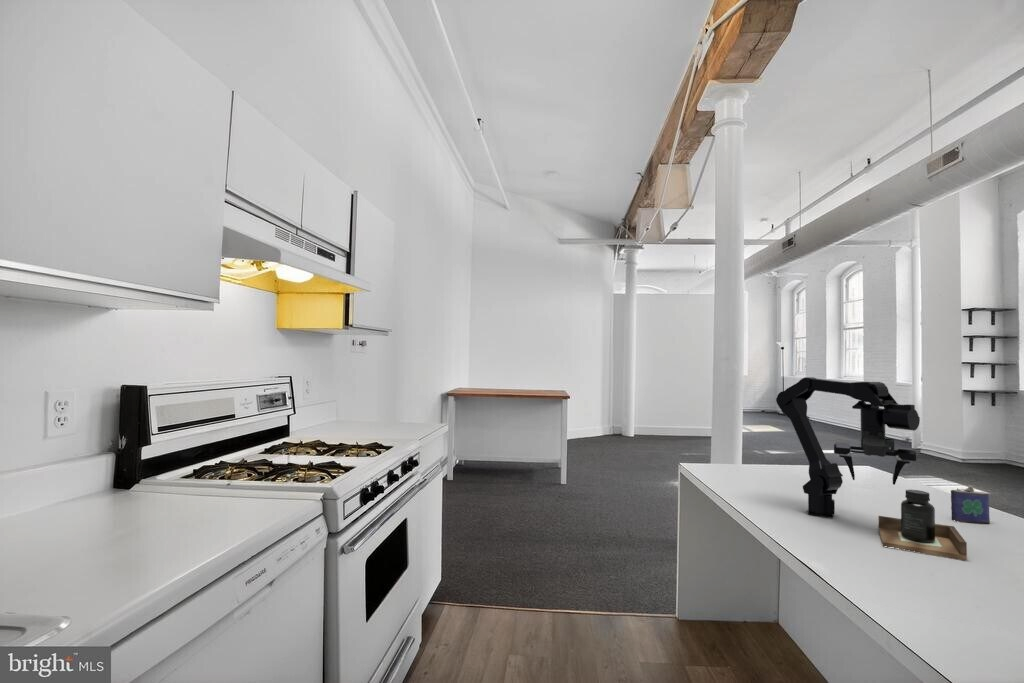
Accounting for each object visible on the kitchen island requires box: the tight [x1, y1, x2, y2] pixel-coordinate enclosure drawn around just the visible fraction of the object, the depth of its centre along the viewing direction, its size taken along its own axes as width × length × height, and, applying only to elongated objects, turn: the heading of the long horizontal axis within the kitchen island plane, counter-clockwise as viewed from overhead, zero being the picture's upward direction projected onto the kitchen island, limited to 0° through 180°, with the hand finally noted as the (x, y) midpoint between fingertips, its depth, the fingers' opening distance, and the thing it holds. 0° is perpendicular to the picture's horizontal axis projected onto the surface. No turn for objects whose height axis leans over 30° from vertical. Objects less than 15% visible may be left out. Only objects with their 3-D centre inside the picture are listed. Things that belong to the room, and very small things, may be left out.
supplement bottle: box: [900, 489, 936, 543], centre depth 132 cm, size 7×7×12 cm
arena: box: [878, 515, 968, 561], centre depth 132 cm, size 16×15×4 cm
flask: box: [950, 485, 991, 525], centre depth 153 cm, size 9×3×11 cm, turn 74°
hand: (873, 482), depth 144 cm, fingers open, 9 cm apart
